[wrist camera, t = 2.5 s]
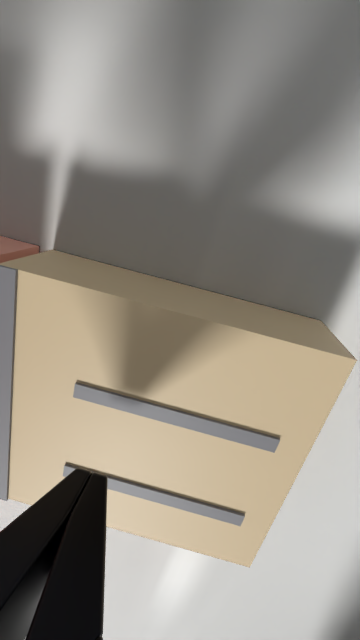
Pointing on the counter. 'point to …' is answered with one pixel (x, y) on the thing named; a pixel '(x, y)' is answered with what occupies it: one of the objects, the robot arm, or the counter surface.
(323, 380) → the beige slotted tile
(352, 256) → the counter surface
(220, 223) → the counter surface
